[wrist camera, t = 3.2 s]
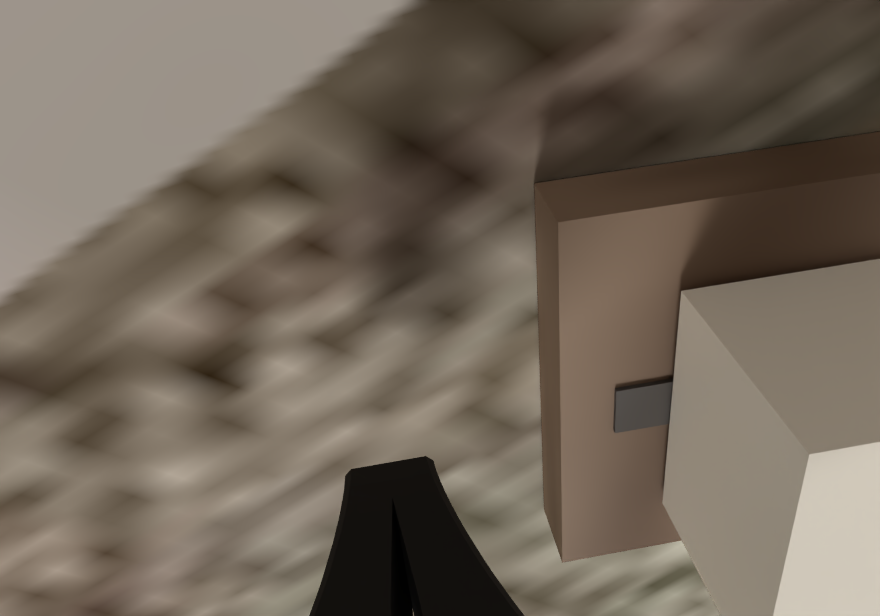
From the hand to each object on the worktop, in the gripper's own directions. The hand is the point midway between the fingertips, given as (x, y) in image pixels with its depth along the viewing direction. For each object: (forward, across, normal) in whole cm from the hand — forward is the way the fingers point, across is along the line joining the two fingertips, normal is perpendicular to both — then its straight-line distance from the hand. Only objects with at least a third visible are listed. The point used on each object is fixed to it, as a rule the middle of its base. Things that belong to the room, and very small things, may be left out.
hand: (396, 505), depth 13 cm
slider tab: (+1, -7, 0) cm, 7 cm away
